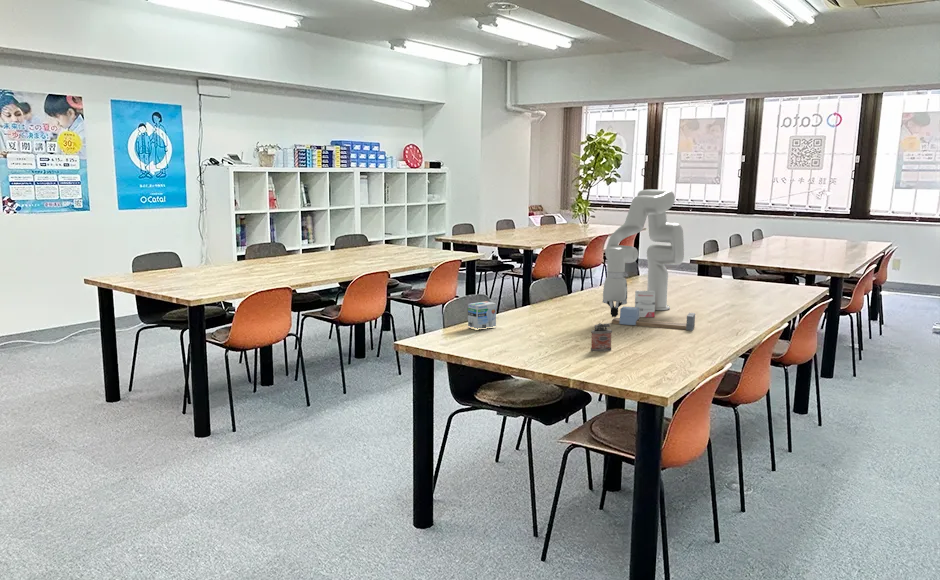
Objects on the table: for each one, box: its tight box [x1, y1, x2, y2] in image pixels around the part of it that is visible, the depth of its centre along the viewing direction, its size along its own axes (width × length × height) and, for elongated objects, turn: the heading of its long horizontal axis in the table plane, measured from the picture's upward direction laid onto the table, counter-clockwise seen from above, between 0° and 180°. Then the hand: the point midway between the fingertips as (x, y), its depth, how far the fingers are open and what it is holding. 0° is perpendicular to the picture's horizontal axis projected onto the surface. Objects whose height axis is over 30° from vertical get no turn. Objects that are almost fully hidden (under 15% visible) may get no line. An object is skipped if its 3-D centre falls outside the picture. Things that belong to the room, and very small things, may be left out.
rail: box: [611, 312, 696, 332], centre depth 305 cm, size 8×34×6 cm, turn 67°
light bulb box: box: [467, 300, 497, 329], centre depth 297 cm, size 11×7×11 cm, turn 129°
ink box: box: [634, 289, 656, 318], centre depth 325 cm, size 9×5×12 cm, turn 84°
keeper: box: [618, 305, 640, 326], centre depth 308 cm, size 8×7×6 cm
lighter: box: [590, 323, 613, 352], centre depth 259 cm, size 8×3×10 cm, turn 106°
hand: (614, 316), depth 311 cm, fingers closed
